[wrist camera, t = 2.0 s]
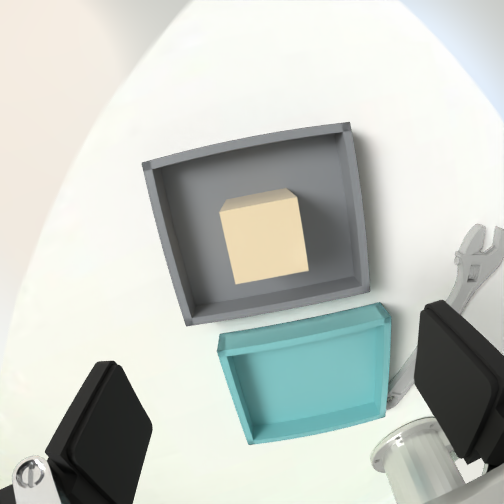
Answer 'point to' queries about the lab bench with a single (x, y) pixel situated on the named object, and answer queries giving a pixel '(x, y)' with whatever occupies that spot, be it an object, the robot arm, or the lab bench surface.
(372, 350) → the teal bin
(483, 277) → the adjustable wrench
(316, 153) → the charcoal bin
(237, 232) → the sandstone block
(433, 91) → the lab bench surface
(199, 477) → the lab bench surface
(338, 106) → the lab bench surface
